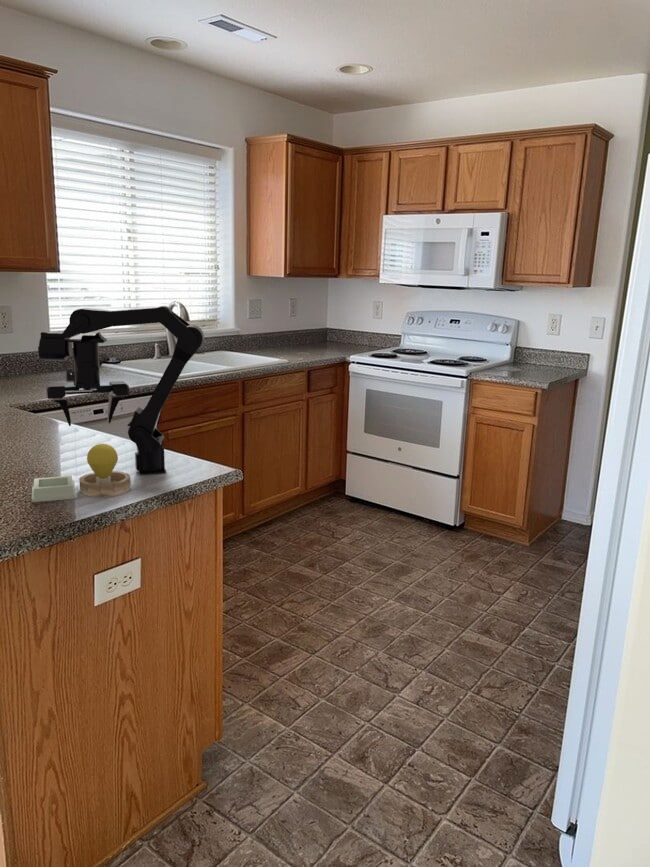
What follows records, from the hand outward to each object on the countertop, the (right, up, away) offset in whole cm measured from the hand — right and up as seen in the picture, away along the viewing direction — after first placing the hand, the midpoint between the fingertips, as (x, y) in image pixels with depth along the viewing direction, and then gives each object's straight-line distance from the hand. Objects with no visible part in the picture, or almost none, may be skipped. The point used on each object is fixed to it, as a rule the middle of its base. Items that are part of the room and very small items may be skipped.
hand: (89, 424), depth 165 cm
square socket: (-3, -16, -15) cm, 22 cm away
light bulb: (+7, -15, -11) cm, 20 cm away
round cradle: (+7, -15, -11) cm, 20 cm away
